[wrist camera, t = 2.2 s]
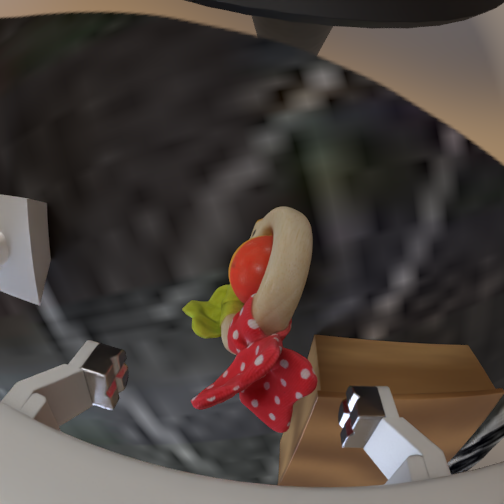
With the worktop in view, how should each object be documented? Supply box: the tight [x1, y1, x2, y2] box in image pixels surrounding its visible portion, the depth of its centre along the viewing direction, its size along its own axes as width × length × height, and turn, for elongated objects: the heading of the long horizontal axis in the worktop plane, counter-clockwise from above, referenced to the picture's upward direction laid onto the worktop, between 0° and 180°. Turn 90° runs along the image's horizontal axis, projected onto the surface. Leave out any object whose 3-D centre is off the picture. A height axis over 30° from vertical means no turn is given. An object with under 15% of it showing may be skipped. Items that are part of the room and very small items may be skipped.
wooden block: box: [278, 335, 504, 487], centre depth 20 cm, size 14×14×6 cm
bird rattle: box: [182, 207, 318, 433], centre depth 15 cm, size 6×11×9 cm
